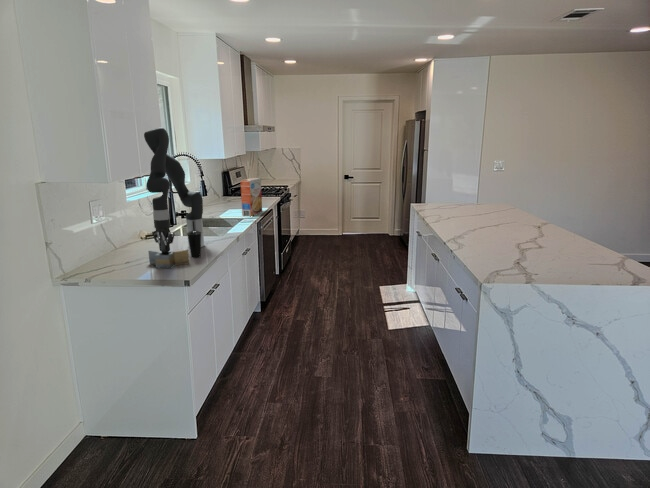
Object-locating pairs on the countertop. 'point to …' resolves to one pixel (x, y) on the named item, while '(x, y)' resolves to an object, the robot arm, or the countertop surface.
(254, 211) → the pasta box
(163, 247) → the hinge pin
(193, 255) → the drinking cup
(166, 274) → the countertop surface
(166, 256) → the hinge
